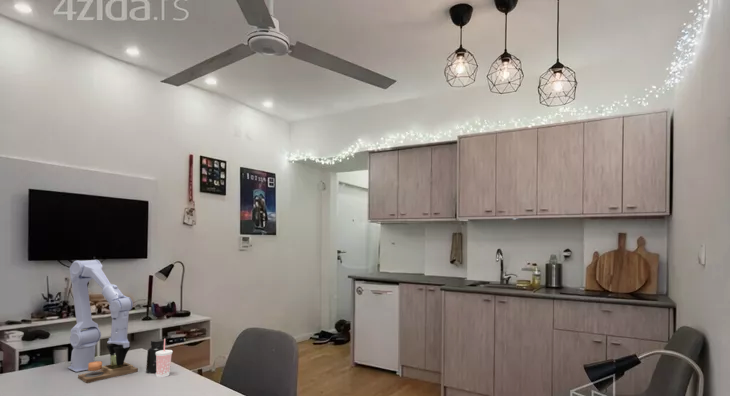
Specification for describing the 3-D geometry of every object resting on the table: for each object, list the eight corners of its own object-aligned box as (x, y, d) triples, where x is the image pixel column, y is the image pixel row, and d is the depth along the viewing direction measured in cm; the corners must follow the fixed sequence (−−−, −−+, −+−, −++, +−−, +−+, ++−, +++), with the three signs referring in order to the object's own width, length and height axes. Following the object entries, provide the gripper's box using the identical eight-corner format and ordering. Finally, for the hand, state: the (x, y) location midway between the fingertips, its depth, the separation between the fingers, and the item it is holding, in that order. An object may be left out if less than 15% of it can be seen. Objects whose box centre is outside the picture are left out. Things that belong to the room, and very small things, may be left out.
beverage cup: (160, 372, 169) (162, 336, 170) (174, 373, 168) (176, 337, 169) (150, 377, 163) (152, 340, 164) (165, 378, 162) (167, 340, 163)
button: (86, 369, 162) (86, 363, 162) (98, 366, 165) (99, 360, 165) (90, 371, 159) (91, 365, 159) (103, 369, 162) (104, 362, 163)
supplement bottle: (157, 374, 167) (159, 342, 168) (142, 372, 168) (143, 341, 170) (168, 368, 174) (170, 338, 175) (153, 367, 175) (155, 338, 176)
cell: (108, 370, 168) (109, 353, 168) (119, 367, 171) (120, 350, 171) (112, 372, 165) (112, 355, 165) (123, 369, 168) (123, 352, 168)
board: (77, 378, 161) (78, 370, 162) (127, 367, 175) (128, 360, 176) (86, 383, 156) (87, 375, 156) (137, 371, 170) (138, 364, 170)
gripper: (101, 327, 171) (98, 362, 170) (116, 332, 162) (114, 369, 161) (120, 325, 177) (117, 358, 175) (135, 329, 168) (133, 365, 166)
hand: (117, 363), depth 168 cm, fingers open, 4 cm apart
